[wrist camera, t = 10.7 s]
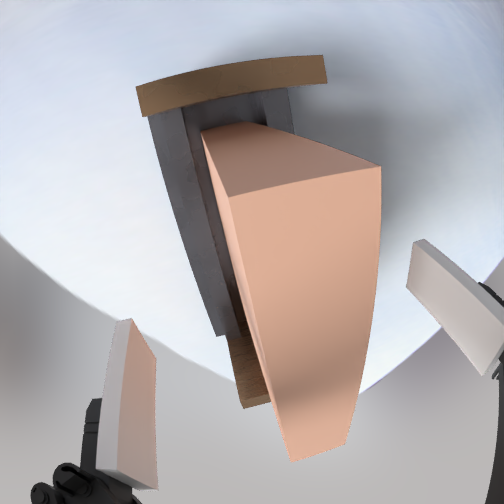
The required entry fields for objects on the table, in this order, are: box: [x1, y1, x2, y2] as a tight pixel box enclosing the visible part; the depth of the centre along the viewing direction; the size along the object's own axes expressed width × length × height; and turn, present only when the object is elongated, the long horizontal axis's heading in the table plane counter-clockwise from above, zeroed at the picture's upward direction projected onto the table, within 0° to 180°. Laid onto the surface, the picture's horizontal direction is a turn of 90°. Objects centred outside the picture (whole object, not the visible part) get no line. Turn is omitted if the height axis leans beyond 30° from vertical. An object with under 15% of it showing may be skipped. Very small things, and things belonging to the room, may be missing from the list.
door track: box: [136, 55, 327, 409], centre depth 17 cm, size 9×20×9 cm, turn 10°
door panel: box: [200, 121, 381, 462], centre depth 14 cm, size 3×14×14 cm, turn 10°
